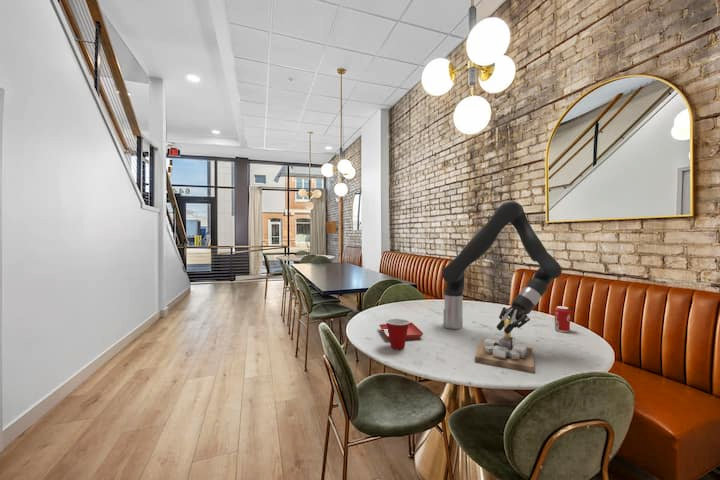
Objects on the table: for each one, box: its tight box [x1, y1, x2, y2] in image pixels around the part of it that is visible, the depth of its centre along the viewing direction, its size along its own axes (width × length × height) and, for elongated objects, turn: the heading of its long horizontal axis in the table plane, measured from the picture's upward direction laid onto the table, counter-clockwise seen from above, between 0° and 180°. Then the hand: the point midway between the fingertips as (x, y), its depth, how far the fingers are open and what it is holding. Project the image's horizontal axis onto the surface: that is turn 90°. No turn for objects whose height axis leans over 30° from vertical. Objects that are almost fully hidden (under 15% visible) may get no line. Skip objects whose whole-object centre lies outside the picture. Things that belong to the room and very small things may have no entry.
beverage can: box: [554, 305, 571, 333], centre depth 151 cm, size 6×6×12 cm
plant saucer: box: [378, 321, 424, 341], centre depth 148 cm, size 18×18×3 cm
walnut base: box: [474, 338, 535, 374], centre depth 121 cm, size 20×20×6 cm
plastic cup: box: [385, 318, 411, 350], centre depth 132 cm, size 11×11×12 cm
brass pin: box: [503, 318, 512, 340], centre depth 124 cm, size 2×2×12 cm
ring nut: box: [483, 335, 528, 359], centre depth 120 cm, size 15×15×4 cm
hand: (502, 330), depth 124 cm, fingers open, 4 cm apart
